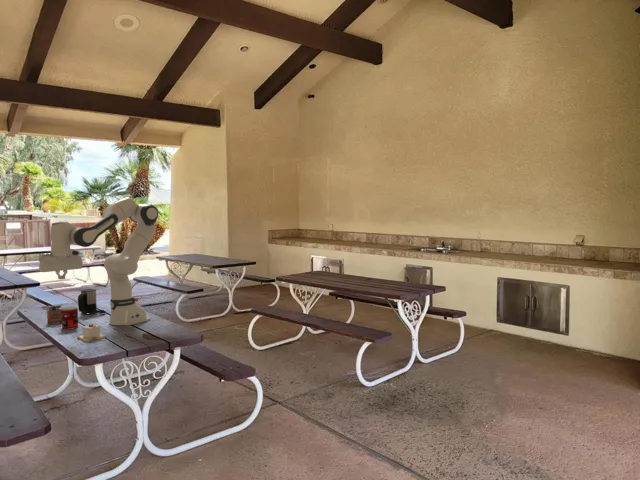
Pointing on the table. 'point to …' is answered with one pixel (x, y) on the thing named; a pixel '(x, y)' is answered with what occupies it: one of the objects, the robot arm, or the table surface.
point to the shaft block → (92, 337)
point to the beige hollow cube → (91, 331)
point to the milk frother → (88, 302)
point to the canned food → (69, 317)
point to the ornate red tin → (54, 315)
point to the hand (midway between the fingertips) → (61, 279)
